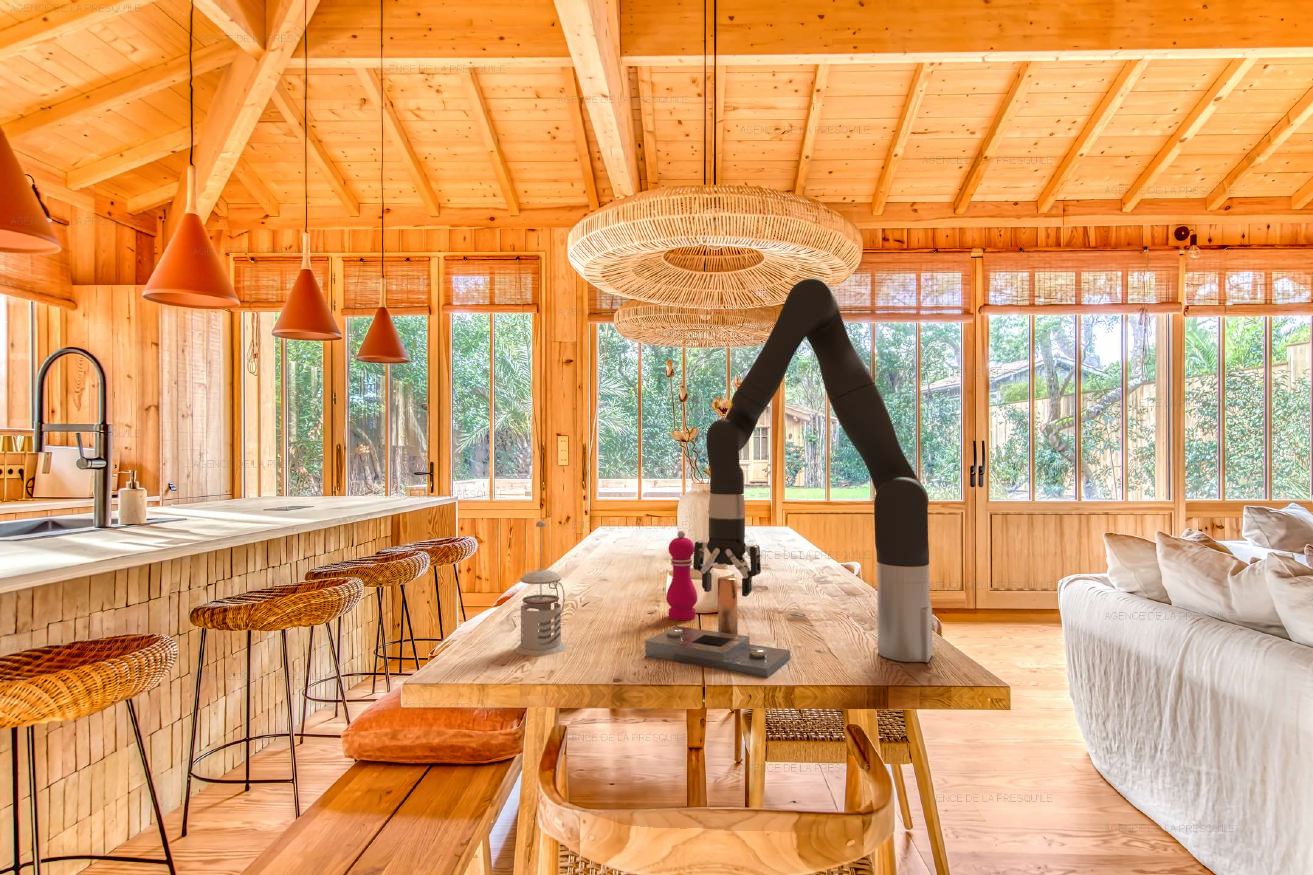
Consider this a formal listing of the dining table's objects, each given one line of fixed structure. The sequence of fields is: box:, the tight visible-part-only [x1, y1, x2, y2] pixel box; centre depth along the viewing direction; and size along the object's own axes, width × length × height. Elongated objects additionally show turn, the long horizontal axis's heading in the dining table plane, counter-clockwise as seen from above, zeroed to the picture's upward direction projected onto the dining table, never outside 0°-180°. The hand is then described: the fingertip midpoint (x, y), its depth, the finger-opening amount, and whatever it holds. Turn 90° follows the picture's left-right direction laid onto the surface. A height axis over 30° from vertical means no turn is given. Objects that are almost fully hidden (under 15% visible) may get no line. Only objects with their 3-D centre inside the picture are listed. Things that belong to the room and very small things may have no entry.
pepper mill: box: [665, 530, 698, 621], centre depth 154 cm, size 7×7×20 cm
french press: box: [515, 520, 567, 657], centre depth 131 cm, size 10×12×25 cm
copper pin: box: [717, 576, 739, 635], centre depth 137 cm, size 4×4×12 cm
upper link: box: [644, 625, 751, 663], centre depth 125 cm, size 16×12×4 cm
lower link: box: [673, 643, 791, 679], centre depth 121 cm, size 18×12×2 cm, turn 60°
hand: (726, 593), depth 137 cm, fingers open, 8 cm apart
